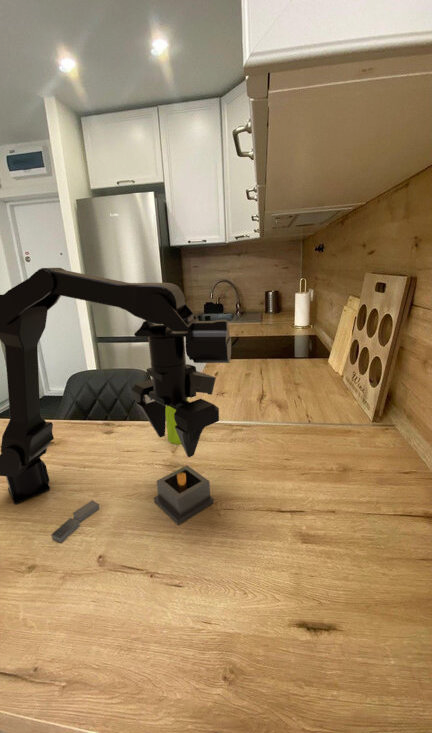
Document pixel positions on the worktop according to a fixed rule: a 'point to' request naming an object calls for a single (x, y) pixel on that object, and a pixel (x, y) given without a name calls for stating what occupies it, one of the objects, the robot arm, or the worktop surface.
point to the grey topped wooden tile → (86, 511)
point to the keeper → (181, 487)
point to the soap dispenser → (171, 425)
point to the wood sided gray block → (65, 530)
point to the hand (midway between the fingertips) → (175, 445)
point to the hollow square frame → (187, 498)
